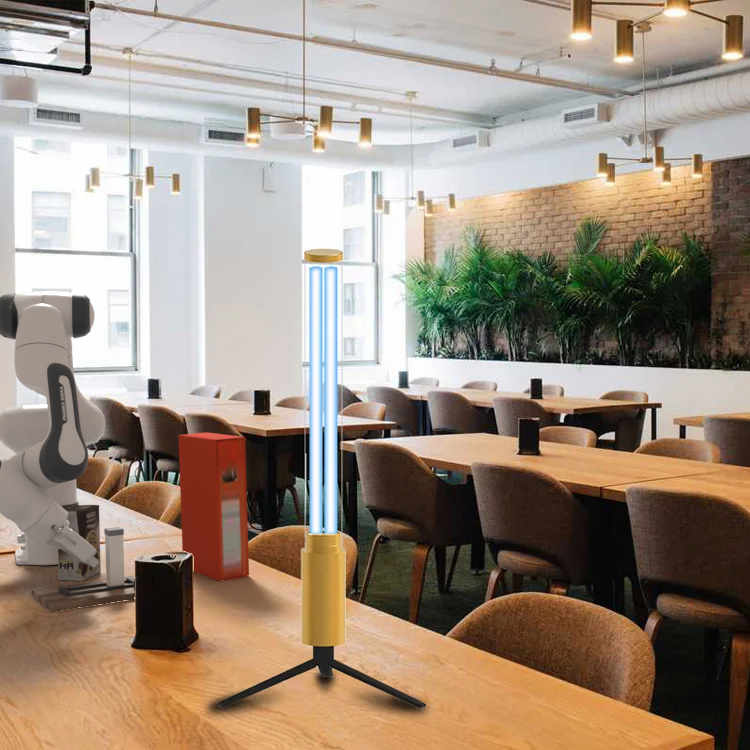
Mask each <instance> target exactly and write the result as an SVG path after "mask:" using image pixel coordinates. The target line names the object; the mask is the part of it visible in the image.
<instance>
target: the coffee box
mask: <svg viewBox="0 0 750 750" xmlns="http://www.w3.org/2000/svg"><path fill="white" fill-rule="evenodd" d="M65 510H66V511H67V512H68V517H67V520H68V521H69V522H70V524H69V528H70V529H72V530H74V531H75V532H76V533H77V534H79V535H80V536H81V537H82V538H84V539H85V540H86V541H87V542H88V543H90V544H91V545H92V546H93V547H94V548H95V549H96V550H97V552H96V554H95V555H94V557H95V558H96V559H97V560H98V561H99V563H98V564H97V566H96V567H91V566H90V565H88V564H87V563H86V564H85V563H83V562H81V561H79V560H78V559H76V558H75V557H73V556H71V555H70V554H68V553H66V552H65V551H63V550H61V549H59V548H58V564H57V566H58V568H57V569H58V580H59V581H71V582H72V581H73V582H75V581H76V582H84V581H86V580H87V579H90V578H92V577H94V576H97V575H98V573H99V574H100V572H101V571H102V570H101V567H102V566H101V562H102V561H101V531H100V530H101V529H100V527H101V526H100V523H101V522H100V504H81V505H80V504H79V505H74V506H71V507H68V508H65ZM85 579H86V580H85ZM83 580H84V581H83Z"/></svg>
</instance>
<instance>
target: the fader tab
mask: <svg viewBox="0 0 750 750" xmlns="http://www.w3.org/2000/svg"><path fill="white" fill-rule="evenodd" d="M124 531H125V530H124V528H122V527H120V526H116V527H115V526H114V527H107V528H104V531H103V532H104V541H105V542H104V543H105V545H104V546H105V574H106V575H105V577H106V578H105V579H106V585H108V586H109V587H111V586H118V585H124V577H125V558H124V557H125V554H124V553H125V552H124V548H125V547H124V535H125V532H124Z"/></svg>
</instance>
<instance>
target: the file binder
mask: <svg viewBox="0 0 750 750" xmlns="http://www.w3.org/2000/svg"><path fill="white" fill-rule="evenodd" d="M178 456H179V460H178V461H179V482H180V483H179V486H180V489H179V491H180V492H179V493H180V516H181V518H180V519H181V521H180V522H181V547H182V548H181V549H182V552H183V551H186V552H189V553H192V554H193V556H194V572H196V573H195V574H197V573H199V574H202V575H205V576H208V577H211V578H213V579H212V580H214V579H216V580H215V581H217V580H219V581H218V582H220V581H221V582H223V581H222V580H226V581H229V580H228V579H231V580H235V579H234V578H236V579H240V577H242V578H247V577H248V576H249V575H250V564H249V563H250V557H249V533H248V532H249V529H248V527H249V525H248V501H247V499H248V495H247V468H246V465H247V464H246V438H245V436H239V435H232V434H231V435H230V434H223V433H214V432H208V431H207V432H196V433H187V434H179V435H178ZM194 572H193V573H194ZM199 574H198V575H199ZM202 575H201V576H202ZM205 576H204V577H205ZM246 576H247V577H246ZM208 577H207V578H208ZM211 578H210V579H211Z"/></svg>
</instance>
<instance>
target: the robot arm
mask: <svg viewBox="0 0 750 750" xmlns="http://www.w3.org/2000/svg"><path fill="white" fill-rule="evenodd" d="M94 323H95V309H94V306H93V304H92V302H91V299H90V298H89V297H88V296H87V295H86V294H83V293H78V292H72V293H69V292H60V291H47V290H46V291H39V292H38V291H36V292H35V291H33V292H23V293H17V294H16V292H12V293H11V292H10V293H6V294H2V295H1V296H0V336H2V337H4V338H6V339H10V340H15V341H14V361H13V362H14V371H15V376H16V378H17V380H18V381H19V382H20V383H21V384H22V385H23V386H24V387H25V388H27V389H29V390H32V391H33V392H35V394H38V395H41V396H43V397H45V398H46V403H40V404H39V403H38V404H37V403H35V404H22V405H21V404H20V405H15V406H12V407H7V408H5V409H3V411H2V412H1V413H0V442H1V443H2V445H3V446H5V447H6V448H8V449H10V450H11V451H12V452H13V453H14V454H15V455H12V456H11V457H8V458H5V459H0V514H1V516H3V517H4V518H5V519H7V520H10V521H12V522H13V523H14V524H15V525H16V526H17V528H18V529H19V530H20V531H21V533H20V534H17V540H16V541H17V545H21V546H20V548H18V549H16V550H15V551H14V552H15V553H14V557H15V564H16V565H33V566H34V565H35V566H51V565H52V566H53V565H55V566H56V565H58V548H59V549H61V550H63V551H65V552H66V553H68V554H70V555H71V556H73V557H75V558H76V559H78V560H79V561H81V562H83V563H85V564H86V563H87V564H88V565H90V566H91V567H96V566H97V564H98V563H99V561H98V560H97V559H96V558H95V557H94V555H95V554H96V552H97V550H96V549H95V548H94V547H93V546H92V545H91V544H90V543H88V542H87V541H86V540H85V539H84V538H82V537H81V536H80V535H79V534H77V533H76V532H75V531H74V530H72V529H70V528H69V524H70V522H69V521H68V520H67V517H68V512H67V511H66V510H65V508H68V507H71V506H74V505H80V503H79V501H78V496H77V495H78V493H77V479H78V478H80V477H81V476H82V475H83V474H84V473H85V471H86V470H87V467H88V464H89V451H88V450H89V449H88V447H87V446H89V445H93V444H96V443H99V441H100V440H101V439H102V437H103V436H104V433H105V431H106V418H105V415H104V413H103V412H102V410H101V408H99V407H98V406H97V405H96V404H94V403H92V402H91V401H89V399H87V398H86V397H85V396H84V394H83V393H82V392H81V390H80V389H79V387H78V385H77V383H76V379H75V371H74V362H73V358H74V357H73V344H72V338H73V339H78V338H79V339H80V338H82V337H86V336H87V335H88V334H90V332H91V329H92V328H93V326H94Z"/></svg>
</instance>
